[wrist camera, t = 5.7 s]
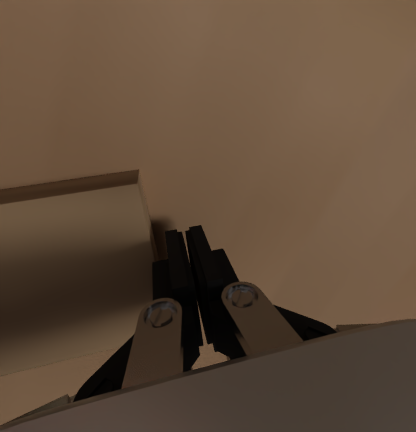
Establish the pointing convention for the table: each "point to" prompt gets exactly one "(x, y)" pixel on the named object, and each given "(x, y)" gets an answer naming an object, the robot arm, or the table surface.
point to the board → (72, 268)
